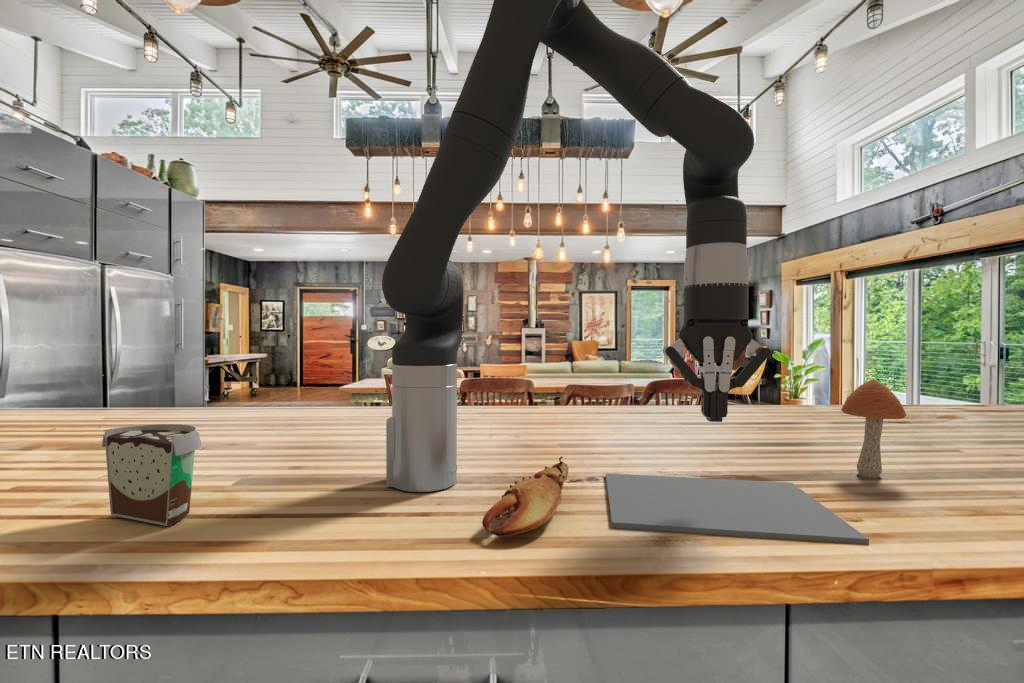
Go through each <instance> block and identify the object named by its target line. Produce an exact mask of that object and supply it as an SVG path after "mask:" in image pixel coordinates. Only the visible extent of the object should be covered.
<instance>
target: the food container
mask: <svg viewBox="0 0 1024 683" xmlns="http://www.w3.org/2000/svg"><path fill="white" fill-rule="evenodd" d="M101 447H102V448H105V459H106V470H107V471H106V472H107V473H106V474H107V483H108V497H109V510H110V516H113V517H118V518H125V519H129V520H134V521H140V522H143V523H144V522H145V523H151V524H155V525H160V526H166V527H168V526H171V525H173V524H175V523H177V522H180V521H181V520H183V519H184V518H186V517H187V516H188V514H189V513H190V508H191V498H192V489H193V488H192V486H193V477H194V475H193V474H194V465H195V464H194V462H195V454H196V453H195V452H196V450H198V449H199V448H201V447H202V440H201V436H200V432H198V431H197V428H196V427H195V426H194V425H189V424H179V423H178V424H176V423H171V424H170V423H165V424H163V423H162V424H161V423H160V424H145V425H144V424H143V425H132V426H131V425H129V426H122V427H115V428H109V429H104V434H102V442H101Z"/></svg>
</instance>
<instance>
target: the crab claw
mask: <svg viewBox="0 0 1024 683" xmlns="http://www.w3.org/2000/svg"><path fill="white" fill-rule="evenodd" d="M562 459H563V456H560V457H559V459H558V461H559V462H558V463H555V464H553V465H551V466H549V467H548V466H546V465H545V466H544V469H543V470H540V471H538V472H536V473H535V474H534V475H533V478H532V477H531V476H529V477H528V478H527V479H526V478H525V477H522V481H518V480H517V481H516V480H514V485H513V484H512V485H511V484H510V485H509V488H508V489H507V490H506V491H505V492H504V494H501V498H500V499H499V500H498V501H497V502H495V504H493V505H492V506H491V507H490V509H488V510H487V512H486V513H485V514H484V515H483V518H482V521H481V524H482V527H483V528H484V530H486V531H487V532H488V533H490V534H493V535H494V536H497V537H508V536H515V535H519V534H522V533H527V532H529V531H532V530H534V529H537V528H539V527H541V526H542V525H545V524H546V523H547V522H548V521H550V520H551V518H552V517H553V516H554V515H555V513H556V511H557V509H558V507H559V505H560V504H561V502H562V500H563V494H562V490H563V486H564V482H565V481H566V480H567V479H568V475H569V466H568V464H567V463H565V462H564V461H562ZM506 515H507V519H505V520H504V521H502V522H501V523H500V525H499V526H497V527H496V528H493V529H491V526H492V524H493V523H495V522H496V520H497V521H498V520H502V518H503V516H506Z"/></svg>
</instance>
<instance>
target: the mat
mask: <svg viewBox="0 0 1024 683" xmlns="http://www.w3.org/2000/svg"><path fill="white" fill-rule="evenodd" d="M605 482H606V489H607V490H606V491H607V499H608V507H609V515H610V522H611V524H610V525H611V528H614V529H615V528H616V529H625V530H626V529H627V530H628V529H629V530H641V531H642V530H643V531H657V532H672V533H676V532H677V533H687V534H688V533H689V534H700V535H701V534H704V535H714V536H715V535H718V536H729V537H730V536H731V537H732V536H733V537H745V538H746V537H748V538H762V539H763V538H765V539H780V540H781V539H782V540H794V541H795V540H796V541H814V542H826V543H830V542H831V543H843V544H844V543H845V544H847V543H848V544H860V545H870V539H869V537H867V536H865V535H864V534H863V533H862V532H860V531H859V530H858V529H856V528H854V527H853V526H852V525H851V524H849V523H848V522H846V521H845V520H844V519H842V517H839V516H838V515H837V514H836V513H834V512H833V511H831V510H830V509H829V508H827V507H826V506H825V505H823V504H822V503H820V502H819V501H818V500H816V499H815V498H814V497H812V496H811V495H809V494H808V493H806V492H805V491H804V490H802V489H801V488H800V487H798V486H797V485H796V484H795V483H793V482H788V481H787V482H786V481H767V480H766V481H764V480H749V479H748V480H745V479H744V480H742V479H729V478H728V479H727V478H726V479H725V478H705V477H690V476H689V477H688V476H687V477H686V476H685V477H684V476H669V475H668V476H667V475H664V476H663V475H645V474H627V473H626V474H625V473H610V472H609V473H607V472H606V473H605Z"/></svg>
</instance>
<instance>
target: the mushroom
mask: <svg viewBox="0 0 1024 683" xmlns="http://www.w3.org/2000/svg"><path fill="white" fill-rule="evenodd" d="M841 411H842V413H843V414H846V415H850V416H854V417H859V418H860V417H861V418H865V420H864V421H865V424H864V436H863V437H864V438H863V439H864V440H863V443H862V447H861V449H860V453H859V457H858V460H857V464H856V470H857V473H858V475H859V476H860V477H865V478H871V479H877V478H880V476H881V475H882V474H883V473H882V472H883V467H882V466H883V465H882V454H881V439H882V433H883V432H882V431H883V426H884V420H899V419H904V418H905V417H907V413H906V410H905V408H904V406H903V404H902V403H901V401H900V400H899V398H898V397H897V396H896V394H894V393H893V391H891V389H889V387H887V386H886V385H885V384H883V383H882V382H880V381H878V380H876V379H874V378H873V379H870V380H868V381H867V382H864V383H862V384H861V385H859V386H858V387H857V388H855V389H854V390H853V391H852V392H851V394H849V395H848V397H847V398H846V400H845V401H844V403H843V405H842V407H841Z"/></svg>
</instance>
